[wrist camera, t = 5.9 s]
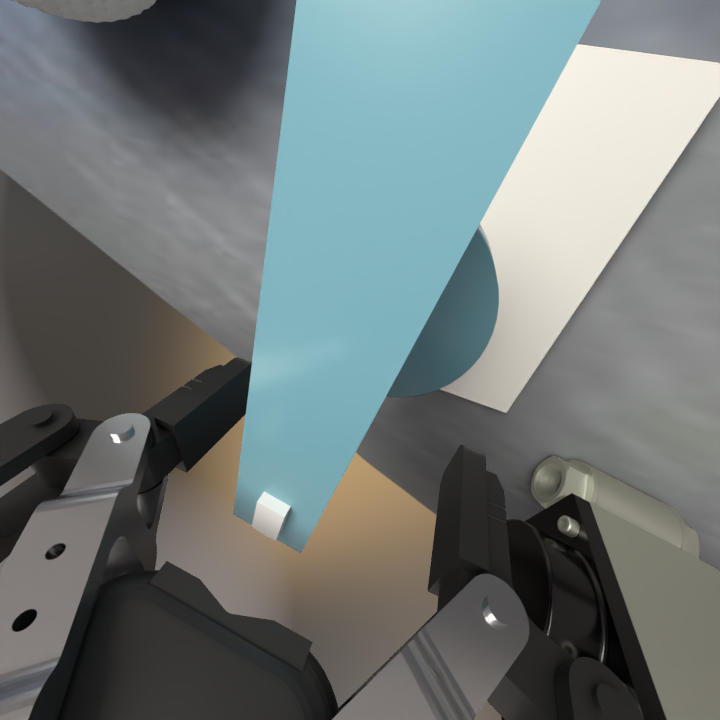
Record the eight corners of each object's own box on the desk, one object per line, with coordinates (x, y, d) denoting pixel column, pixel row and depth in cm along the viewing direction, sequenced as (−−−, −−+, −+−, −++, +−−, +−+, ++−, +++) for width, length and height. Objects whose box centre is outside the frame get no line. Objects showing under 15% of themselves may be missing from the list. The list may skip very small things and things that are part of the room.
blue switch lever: (372, 51, 9) (-7, -423, 2) (600, 140, 8) (1276, -94, 1) (297, 356, 16) (163, 486, 9) (414, 416, 15) (365, 603, 8)
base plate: (717, 75, 11) (990, -46, 5) (504, 402, 22) (516, 488, 16) (309, 18, 14) (189, -99, 8) (292, 328, 25) (232, 375, 19)
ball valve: (458, 461, 26) (436, 798, 12) (520, 400, 21) (612, 856, 7) (649, 562, 25) (887, 1085, 10) (764, 523, 20) (1530, 1427, 5)
